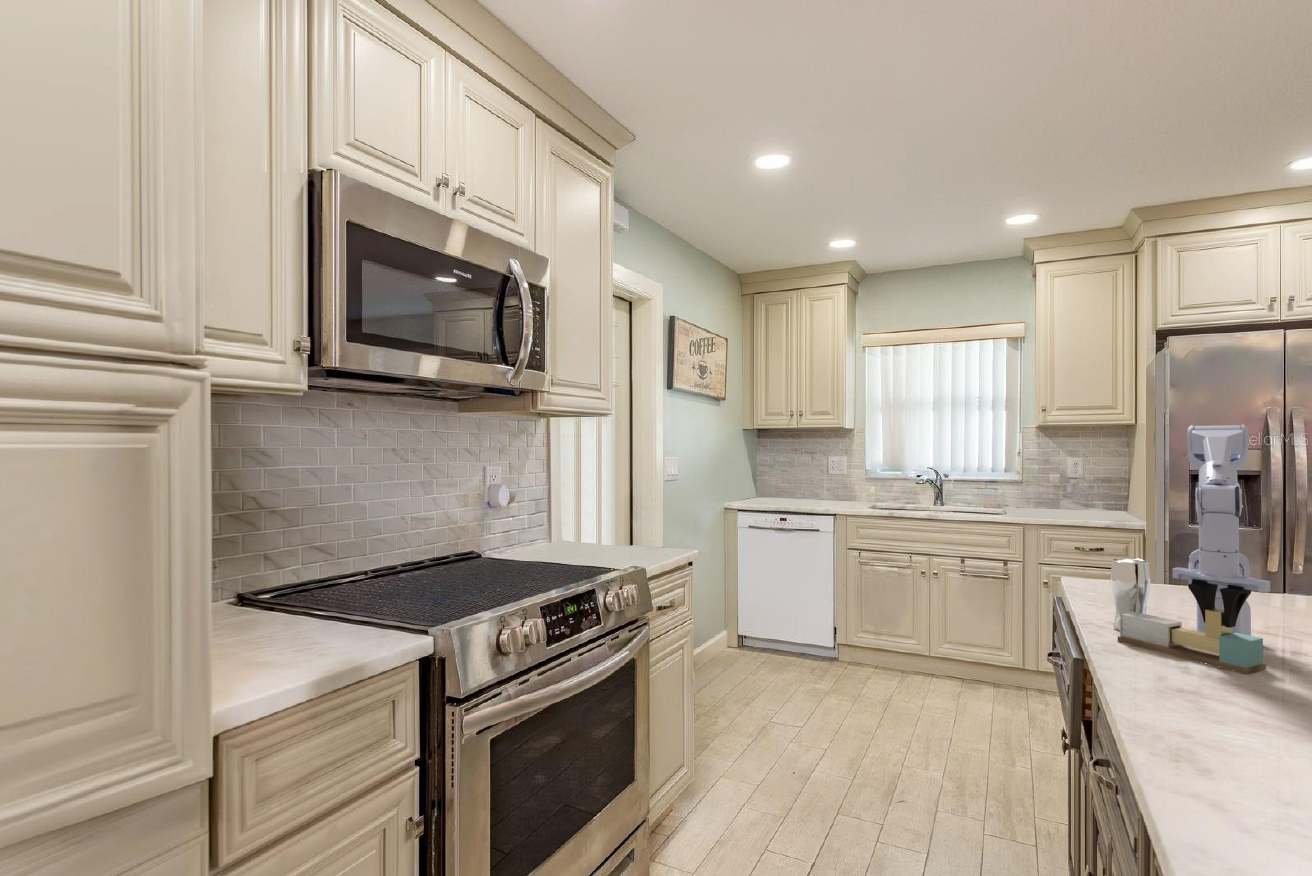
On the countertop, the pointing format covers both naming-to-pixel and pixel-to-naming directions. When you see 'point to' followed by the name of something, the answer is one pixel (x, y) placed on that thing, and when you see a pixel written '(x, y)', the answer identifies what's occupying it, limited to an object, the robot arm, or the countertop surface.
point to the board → (1193, 655)
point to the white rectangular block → (1147, 628)
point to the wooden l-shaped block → (1201, 639)
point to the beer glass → (1129, 586)
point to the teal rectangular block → (1241, 650)
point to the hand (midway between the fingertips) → (1219, 624)
